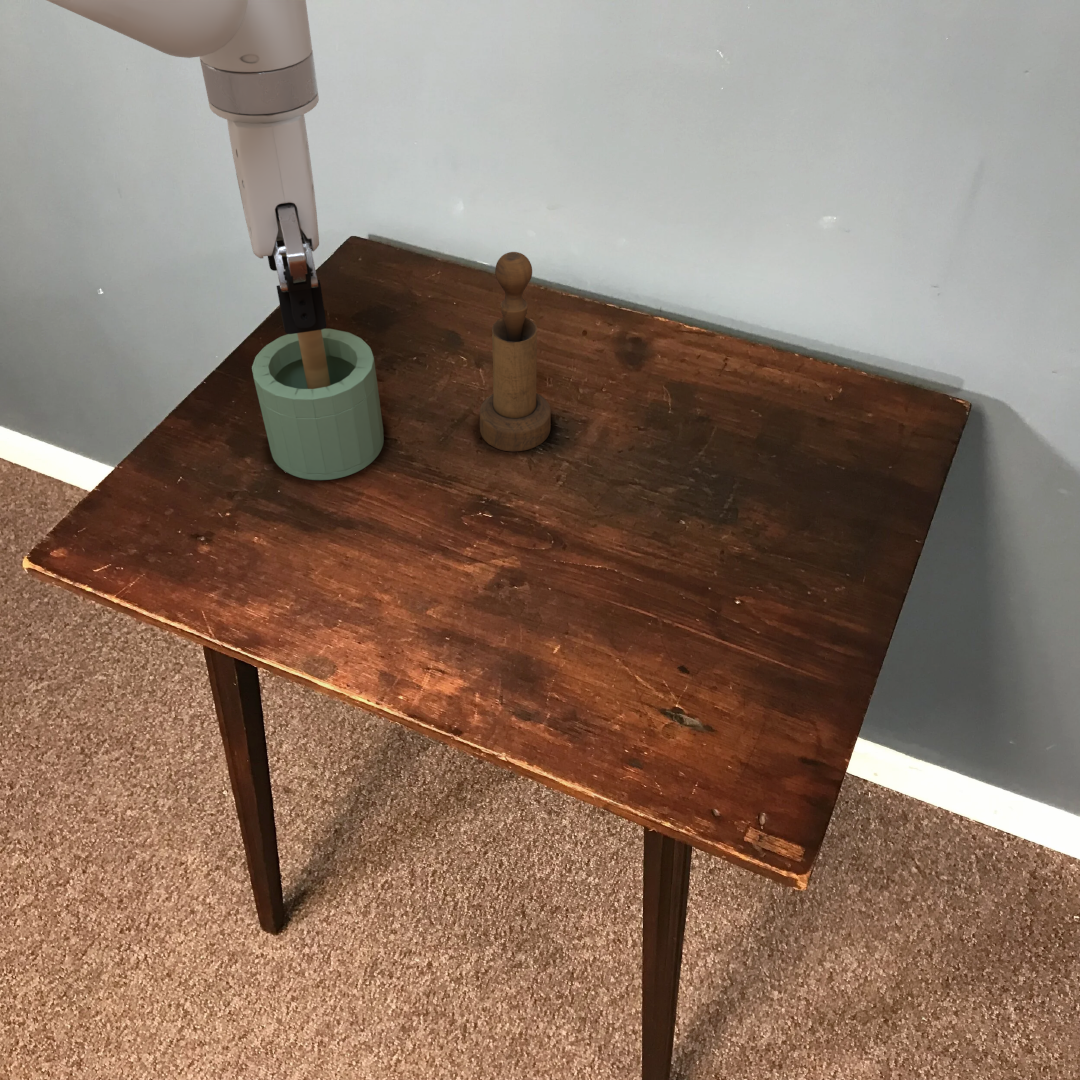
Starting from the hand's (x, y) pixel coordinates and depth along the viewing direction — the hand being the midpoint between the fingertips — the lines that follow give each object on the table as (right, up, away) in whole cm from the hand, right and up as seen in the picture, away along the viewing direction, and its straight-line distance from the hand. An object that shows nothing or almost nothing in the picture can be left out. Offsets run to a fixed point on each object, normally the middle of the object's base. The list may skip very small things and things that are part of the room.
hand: (297, 297), depth 83 cm
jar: (0, -11, +11) cm, 16 cm away
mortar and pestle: (+17, -9, +13) cm, 24 cm away
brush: (0, -10, +11) cm, 15 cm away
